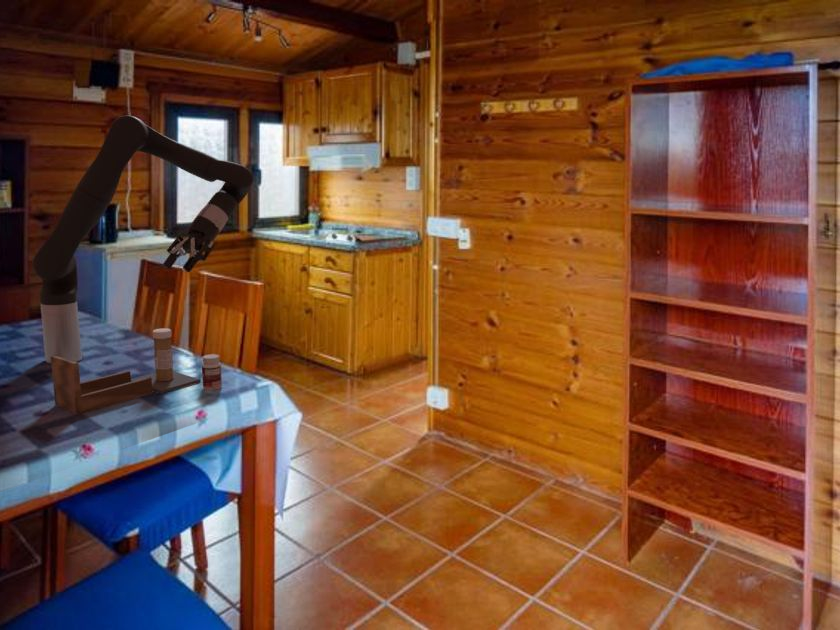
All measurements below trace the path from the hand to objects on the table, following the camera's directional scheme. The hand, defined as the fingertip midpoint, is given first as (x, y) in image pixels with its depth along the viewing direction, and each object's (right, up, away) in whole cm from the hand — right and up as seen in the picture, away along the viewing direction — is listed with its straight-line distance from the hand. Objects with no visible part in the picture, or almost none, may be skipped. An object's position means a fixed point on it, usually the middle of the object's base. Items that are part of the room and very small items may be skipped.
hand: (175, 268), depth 181 cm
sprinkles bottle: (-1, -30, -5) cm, 30 cm away
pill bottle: (+12, -32, -8) cm, 35 cm away
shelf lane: (-10, -33, -18) cm, 39 cm away
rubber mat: (-1, -30, -5) cm, 31 cm away
